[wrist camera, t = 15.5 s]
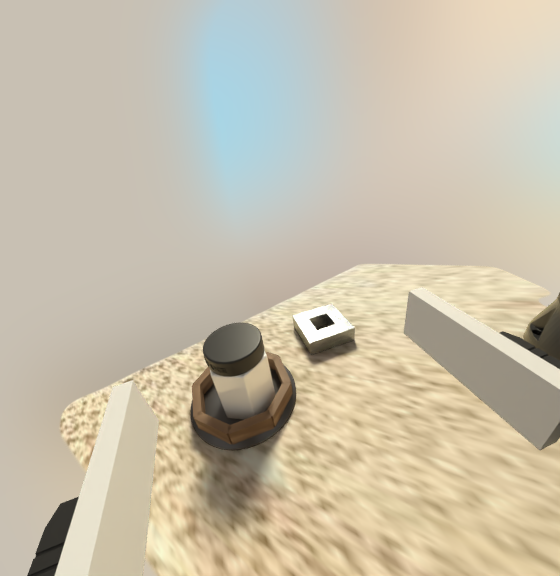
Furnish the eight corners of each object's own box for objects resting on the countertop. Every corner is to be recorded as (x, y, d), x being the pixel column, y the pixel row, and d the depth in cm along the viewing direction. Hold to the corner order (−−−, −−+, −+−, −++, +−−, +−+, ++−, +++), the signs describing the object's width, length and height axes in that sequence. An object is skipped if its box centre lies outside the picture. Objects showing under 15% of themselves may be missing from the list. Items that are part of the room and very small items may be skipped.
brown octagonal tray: (277, 346, 51) (275, 334, 50) (313, 421, 37) (312, 409, 36) (190, 375, 48) (185, 363, 47) (192, 470, 34) (185, 459, 32)
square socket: (332, 314, 58) (331, 303, 56) (354, 339, 50) (354, 327, 49) (294, 326, 56) (292, 315, 54) (311, 354, 48) (310, 342, 47)
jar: (219, 385, 45) (199, 331, 38) (265, 368, 46) (252, 314, 40) (228, 432, 37) (205, 374, 31) (282, 410, 39) (269, 351, 33)
